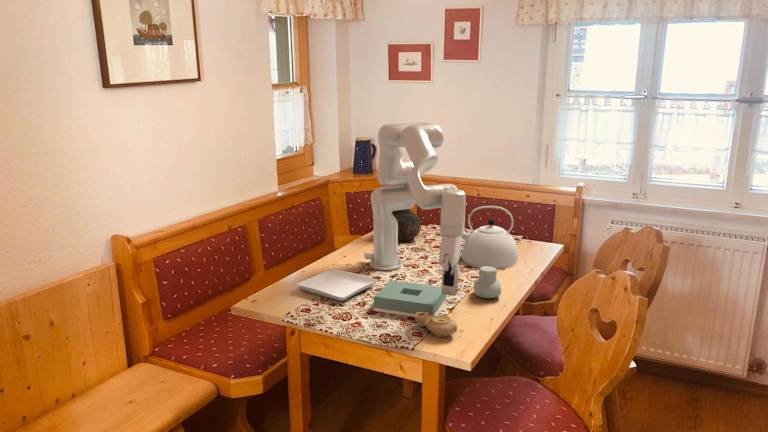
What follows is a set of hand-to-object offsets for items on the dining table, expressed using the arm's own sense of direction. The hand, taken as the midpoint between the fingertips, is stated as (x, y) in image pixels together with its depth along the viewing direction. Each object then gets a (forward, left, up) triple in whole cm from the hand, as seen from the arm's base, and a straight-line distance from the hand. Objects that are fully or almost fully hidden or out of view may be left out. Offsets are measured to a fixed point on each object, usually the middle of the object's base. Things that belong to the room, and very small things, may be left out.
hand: (449, 283), depth 201 cm
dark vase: (-42, +74, -11) cm, 85 cm away
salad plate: (-43, +7, -11) cm, 45 cm away
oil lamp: (-1, -14, -11) cm, 18 cm away
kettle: (0, +59, -11) cm, 60 cm away
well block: (-14, +2, -11) cm, 17 cm away
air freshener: (+8, +20, -11) cm, 24 cm away
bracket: (0, 0, -3) cm, 3 cm away
